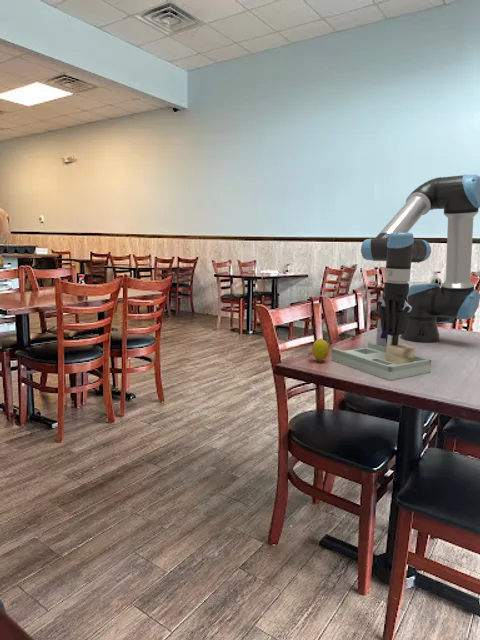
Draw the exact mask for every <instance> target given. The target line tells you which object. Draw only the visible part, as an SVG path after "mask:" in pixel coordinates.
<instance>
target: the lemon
mask: <svg viewBox="0 0 480 640" xmlns="http://www.w3.org/2000/svg"><path fill="white" fill-rule="evenodd" d="M329 351H330V350H329V345H328V342H327V341H326V340H324V339H322V338H319V339H316V340H315V341H314V342H313V344H312V348H311V354H312V356H313V358H314V359H315V360H317V362H321V361H323V360H325V359H326V358H327V357H328V356H329Z"/></svg>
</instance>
